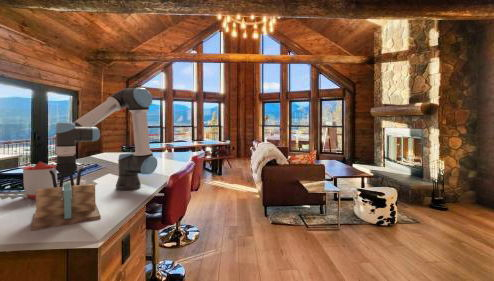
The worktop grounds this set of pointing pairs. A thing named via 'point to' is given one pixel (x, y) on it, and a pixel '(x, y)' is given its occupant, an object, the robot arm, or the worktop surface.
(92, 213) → the joint base
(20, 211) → the worktop surface
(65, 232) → the worktop surface
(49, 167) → the citrus juicer
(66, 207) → the teal slotted plate
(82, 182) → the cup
